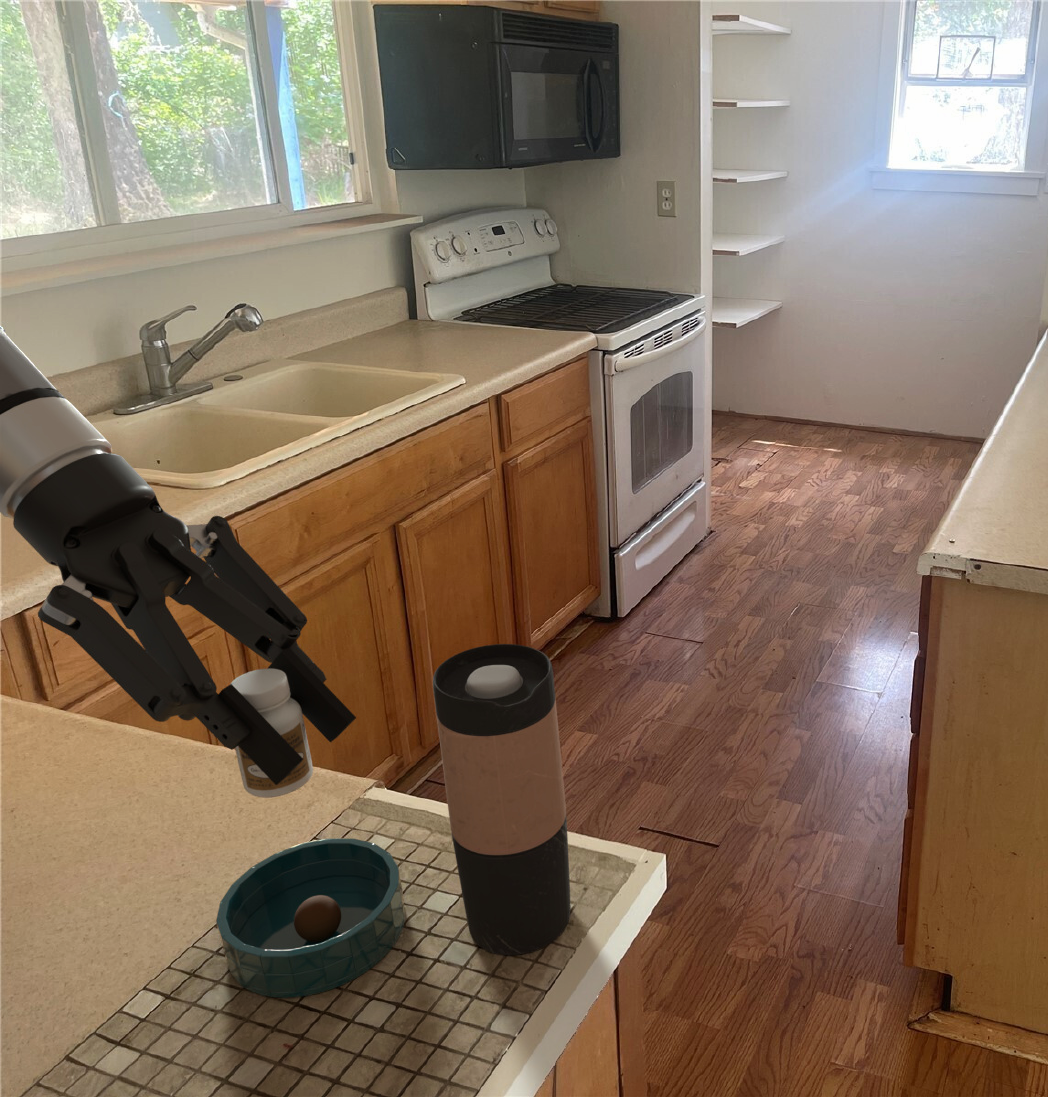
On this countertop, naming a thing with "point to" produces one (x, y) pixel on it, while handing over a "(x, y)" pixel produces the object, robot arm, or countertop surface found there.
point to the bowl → (273, 898)
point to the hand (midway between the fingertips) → (317, 750)
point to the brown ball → (317, 918)
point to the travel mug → (505, 794)
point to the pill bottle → (286, 717)
